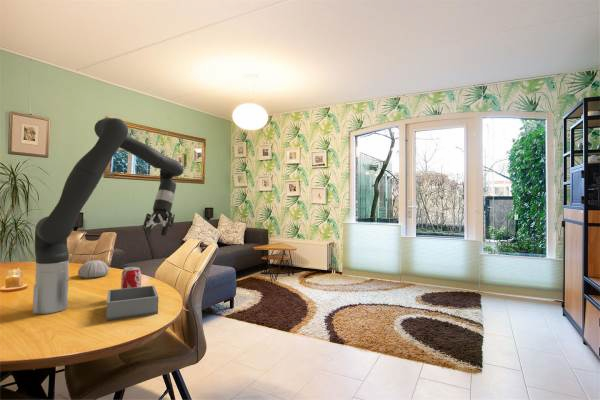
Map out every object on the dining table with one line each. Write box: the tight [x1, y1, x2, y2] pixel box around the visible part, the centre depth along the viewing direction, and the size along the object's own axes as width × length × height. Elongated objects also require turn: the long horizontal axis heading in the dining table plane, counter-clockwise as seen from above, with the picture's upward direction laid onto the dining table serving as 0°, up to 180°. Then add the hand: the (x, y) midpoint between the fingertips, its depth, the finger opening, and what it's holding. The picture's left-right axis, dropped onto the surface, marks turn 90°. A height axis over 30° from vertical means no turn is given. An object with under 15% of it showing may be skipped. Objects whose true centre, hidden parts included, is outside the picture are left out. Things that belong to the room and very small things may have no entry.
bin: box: [105, 285, 159, 322], centre depth 114 cm, size 16×16×6 cm
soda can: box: [120, 266, 142, 289], centre depth 127 cm, size 7×7×12 cm
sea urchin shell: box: [77, 259, 110, 279], centre depth 158 cm, size 13×14×8 cm
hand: (155, 236), depth 137 cm, fingers open, 8 cm apart
